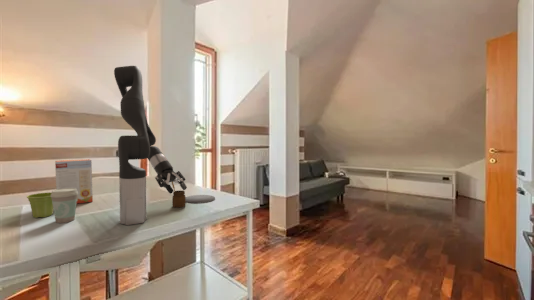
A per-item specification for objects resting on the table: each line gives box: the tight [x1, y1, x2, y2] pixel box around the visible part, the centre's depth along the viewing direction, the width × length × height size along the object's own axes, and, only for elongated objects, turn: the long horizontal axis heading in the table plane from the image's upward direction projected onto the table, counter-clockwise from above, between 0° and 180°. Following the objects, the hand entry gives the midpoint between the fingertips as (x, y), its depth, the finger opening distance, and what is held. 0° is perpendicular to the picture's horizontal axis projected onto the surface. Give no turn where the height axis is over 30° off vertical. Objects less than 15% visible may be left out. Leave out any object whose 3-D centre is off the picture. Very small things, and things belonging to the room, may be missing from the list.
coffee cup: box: [50, 188, 78, 224], centre depth 103 cm, size 8×9×12 cm
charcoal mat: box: [185, 194, 216, 204], centre depth 140 cm, size 16×16×1 cm
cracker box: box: [54, 158, 94, 205], centre depth 128 cm, size 14×6×21 cm, turn 130°
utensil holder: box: [171, 182, 187, 208], centre depth 126 cm, size 6×6×12 cm
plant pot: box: [26, 192, 54, 218], centre depth 108 cm, size 9×9×9 cm
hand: (178, 190), depth 126 cm, fingers open, 8 cm apart
